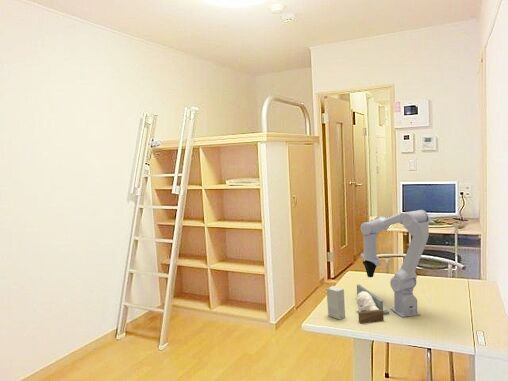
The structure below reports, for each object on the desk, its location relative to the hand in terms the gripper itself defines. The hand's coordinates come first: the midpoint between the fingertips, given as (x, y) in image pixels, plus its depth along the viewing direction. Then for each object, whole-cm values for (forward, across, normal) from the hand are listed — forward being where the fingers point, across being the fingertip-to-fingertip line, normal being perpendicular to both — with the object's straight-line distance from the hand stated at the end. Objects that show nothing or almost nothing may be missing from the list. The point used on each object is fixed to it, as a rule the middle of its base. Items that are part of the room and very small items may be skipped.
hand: (370, 276), depth 183 cm
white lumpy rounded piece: (+11, -16, +9) cm, 21 cm away
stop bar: (+10, -22, +12) cm, 27 cm away
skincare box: (+11, -14, +23) cm, 29 cm away
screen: (+10, -7, +3) cm, 13 cm away
